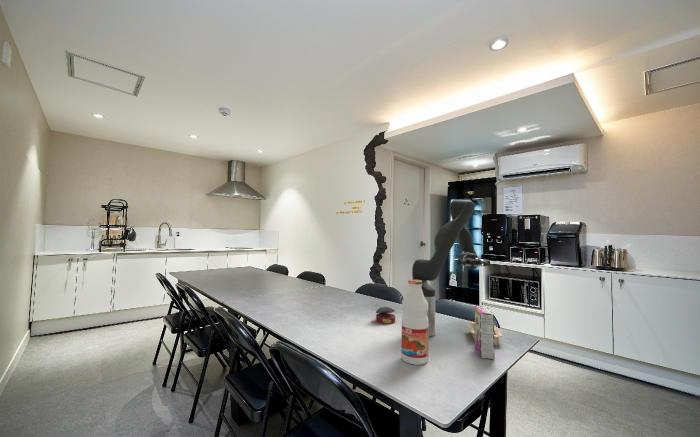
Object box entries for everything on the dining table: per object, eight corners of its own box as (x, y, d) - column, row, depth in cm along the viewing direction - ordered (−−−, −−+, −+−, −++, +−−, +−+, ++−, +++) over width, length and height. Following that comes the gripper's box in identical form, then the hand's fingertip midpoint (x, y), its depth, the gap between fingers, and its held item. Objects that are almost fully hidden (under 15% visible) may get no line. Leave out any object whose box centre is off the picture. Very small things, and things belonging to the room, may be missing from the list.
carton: (471, 343, 119) (471, 333, 119) (467, 330, 136) (466, 321, 136) (503, 347, 115) (503, 337, 116) (494, 333, 132) (494, 324, 133)
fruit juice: (433, 360, 102) (433, 280, 104) (418, 368, 96) (419, 283, 97) (411, 352, 109) (411, 277, 110) (395, 359, 102) (396, 279, 104)
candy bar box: (474, 347, 115) (474, 305, 116) (487, 348, 114) (487, 306, 115) (480, 358, 104) (479, 312, 105) (495, 360, 103) (494, 313, 104)
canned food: (376, 331, 145) (367, 313, 148) (386, 324, 153) (377, 307, 156) (393, 325, 139) (384, 306, 142) (402, 318, 147) (394, 300, 150)
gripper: (456, 252, 149) (458, 254, 134) (486, 254, 145) (492, 256, 129) (456, 267, 149) (458, 271, 133) (486, 269, 144) (492, 272, 129)
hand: (475, 263), depth 131 cm, fingers open, 8 cm apart
